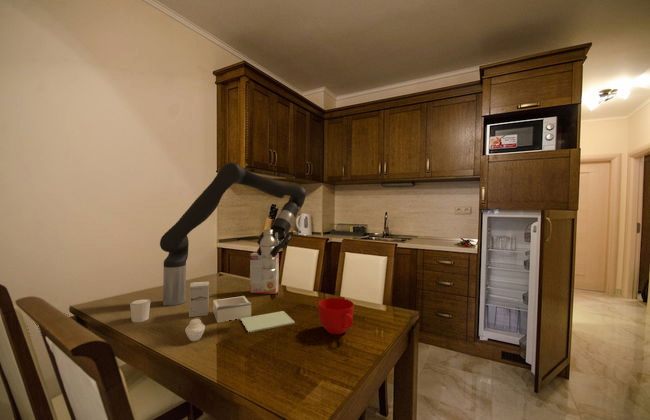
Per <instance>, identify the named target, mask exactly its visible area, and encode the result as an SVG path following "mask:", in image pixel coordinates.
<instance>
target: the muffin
mask: <svg viewBox="0 0 650 420" xmlns="http://www.w3.org/2000/svg"><path fill="white" fill-rule="evenodd" d="M205 329H206V325H205V324H204V323H203V322H202V320H201V319H200V318H196V317H195V318H193V319H191V320H190V321H189V324H188V325H187V326H186V328H185V329H184V330H185V331H184V332H185V333H186V336H187V338H188V340H189V341H191V342H197V341H200V340H201V338H202V336H203V334H204V333H205Z"/></svg>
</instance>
